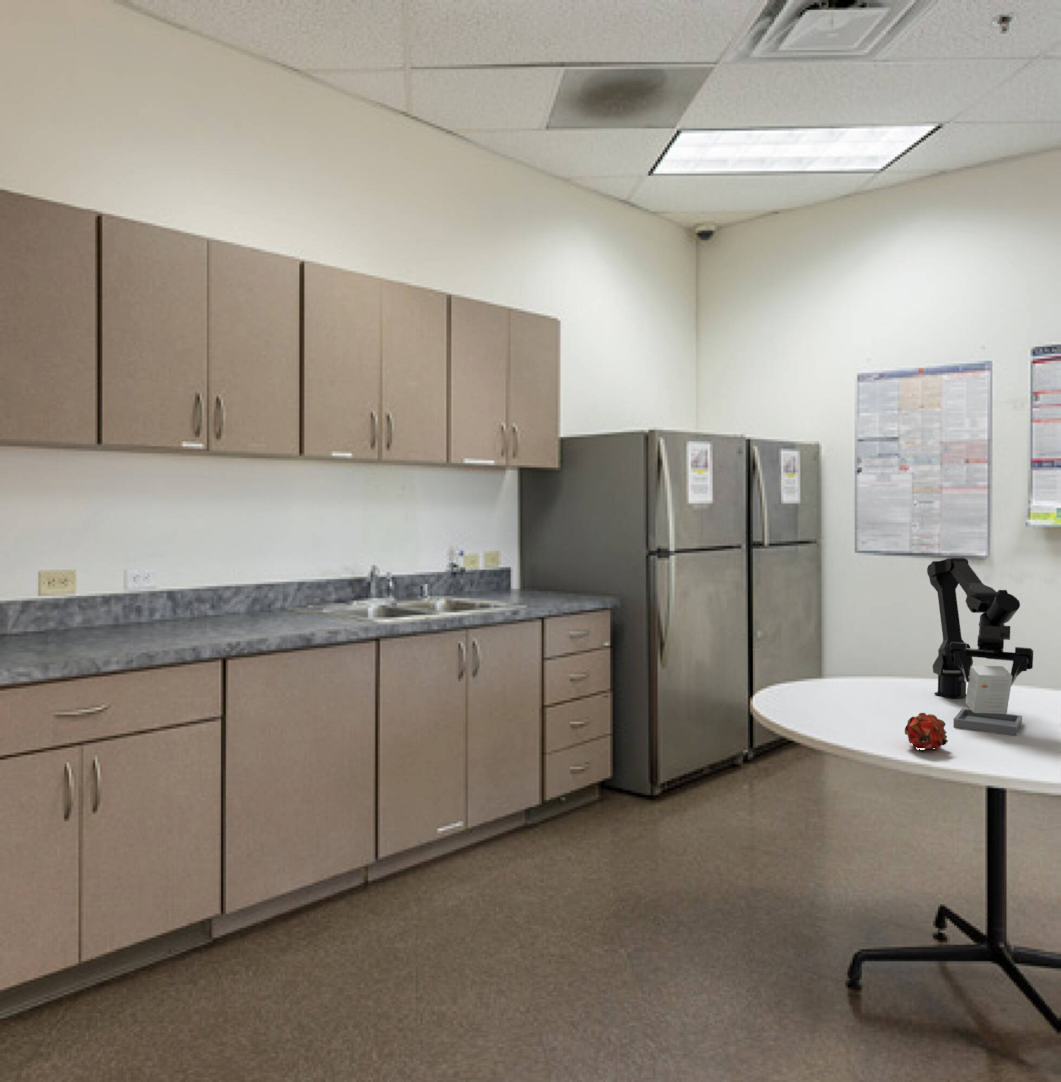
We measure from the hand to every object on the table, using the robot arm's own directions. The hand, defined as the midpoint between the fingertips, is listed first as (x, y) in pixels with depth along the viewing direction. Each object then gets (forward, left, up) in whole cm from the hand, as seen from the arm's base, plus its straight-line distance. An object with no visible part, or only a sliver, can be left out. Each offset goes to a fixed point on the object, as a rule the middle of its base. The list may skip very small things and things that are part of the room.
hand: (988, 683), depth 211 cm
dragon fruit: (+3, -31, -11) cm, 33 cm away
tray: (0, +1, -11) cm, 11 cm away
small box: (-1, +1, -7) cm, 7 cm away
